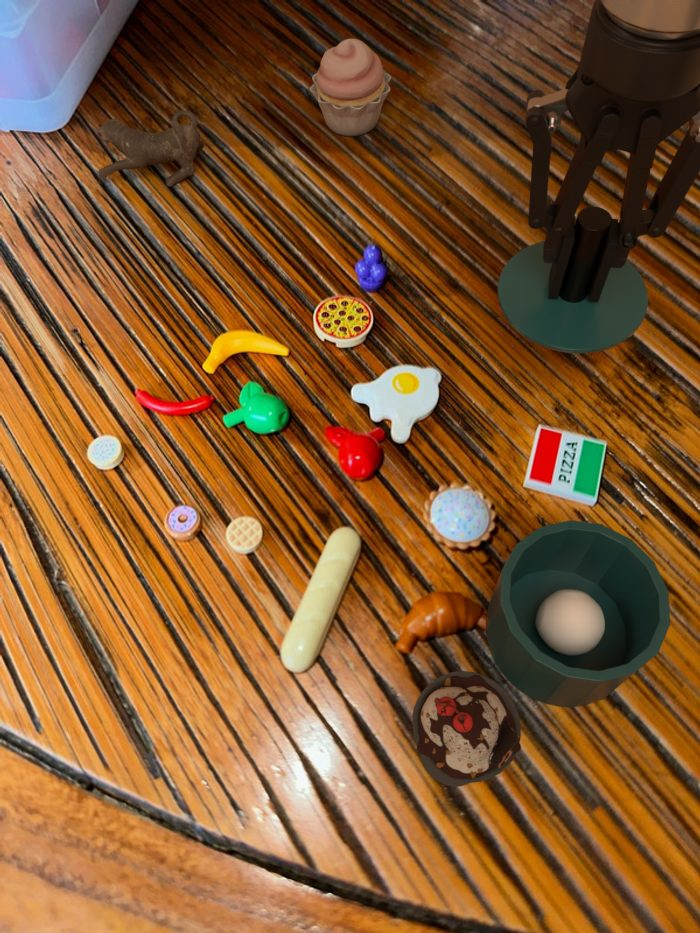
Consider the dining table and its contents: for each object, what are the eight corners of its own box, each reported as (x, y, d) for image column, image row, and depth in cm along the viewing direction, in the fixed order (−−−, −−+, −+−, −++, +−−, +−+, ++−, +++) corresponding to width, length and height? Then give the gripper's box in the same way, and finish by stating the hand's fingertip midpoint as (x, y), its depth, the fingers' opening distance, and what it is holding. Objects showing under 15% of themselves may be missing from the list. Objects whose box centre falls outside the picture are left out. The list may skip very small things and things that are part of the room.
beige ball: (593, 605, 60) (610, 583, 56) (597, 666, 58) (614, 648, 53) (530, 600, 61) (542, 577, 56) (531, 660, 58) (543, 642, 54)
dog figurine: (211, 152, 89) (197, 93, 82) (206, 186, 86) (192, 129, 79) (109, 154, 89) (87, 97, 82) (101, 189, 86) (78, 132, 80)
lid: (642, 253, 68) (675, 168, 60) (647, 365, 62) (685, 287, 54) (500, 242, 69) (515, 157, 61) (491, 350, 63) (507, 272, 55)
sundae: (392, 724, 57) (396, 676, 44) (474, 691, 58) (501, 633, 45) (428, 814, 54) (443, 792, 41) (514, 777, 55) (556, 743, 42)
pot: (631, 574, 62) (666, 531, 54) (635, 717, 56) (673, 692, 49) (490, 556, 63) (505, 512, 56) (480, 695, 58) (495, 666, 50)
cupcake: (301, 138, 89) (293, 57, 80) (327, 89, 93) (322, 7, 85) (377, 153, 87) (377, 72, 79) (400, 103, 92) (403, 20, 83)
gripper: (796, -27, 45) (667, 263, 65) (525, -38, 46) (482, 248, 67) (814, 49, 41) (671, 331, 61) (520, 35, 43) (476, 313, 63)
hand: (573, 287), depth 64 cm, fingers closed on lid, 3 cm apart
